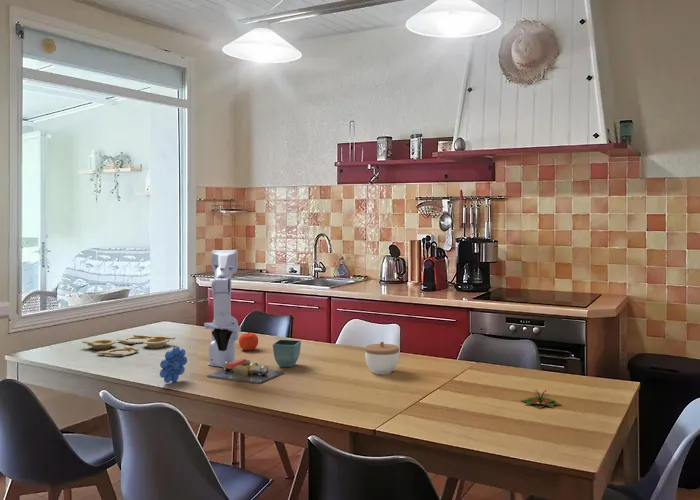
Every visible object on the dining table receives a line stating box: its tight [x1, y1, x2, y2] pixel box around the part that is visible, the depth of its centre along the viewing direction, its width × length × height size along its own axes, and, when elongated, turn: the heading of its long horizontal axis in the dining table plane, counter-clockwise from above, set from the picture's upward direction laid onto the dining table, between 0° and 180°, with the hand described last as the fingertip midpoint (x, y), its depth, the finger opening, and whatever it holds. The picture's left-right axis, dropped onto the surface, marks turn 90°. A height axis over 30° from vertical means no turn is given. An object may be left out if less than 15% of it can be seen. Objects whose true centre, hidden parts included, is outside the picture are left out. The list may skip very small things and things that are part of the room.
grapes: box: [159, 346, 188, 384], centre depth 215 cm, size 12×7×12 cm, turn 147°
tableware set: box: [81, 334, 176, 358], centre depth 270 cm, size 35×29×4 cm
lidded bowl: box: [364, 341, 400, 375], centre depth 227 cm, size 13×13×11 cm
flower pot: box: [272, 339, 302, 368], centre depth 236 cm, size 9×9×9 cm
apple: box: [238, 330, 259, 352], centre depth 264 cm, size 8×8×8 cm
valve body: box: [206, 361, 285, 385], centre depth 223 cm, size 22×16×4 cm
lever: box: [226, 358, 251, 369], centre depth 221 cm, size 11×3×2 cm, turn 154°
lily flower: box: [519, 388, 563, 409], centre depth 190 cm, size 12×12×5 cm
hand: (222, 350), depth 220 cm, fingers closed
